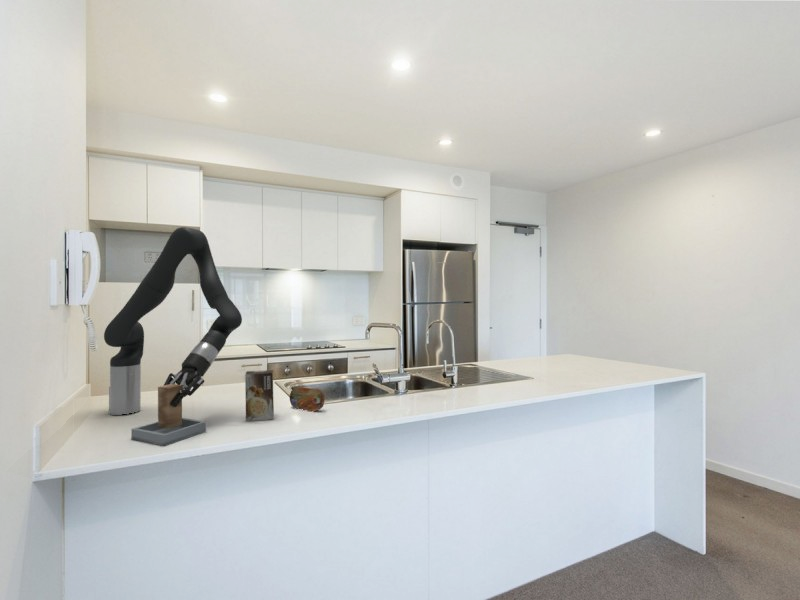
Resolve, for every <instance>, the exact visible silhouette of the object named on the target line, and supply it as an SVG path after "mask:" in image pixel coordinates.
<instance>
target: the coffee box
mask: <svg viewBox="0 0 800 600" xmlns="http://www.w3.org/2000/svg"><path fill="white" fill-rule="evenodd" d="M244 377H245V378H244V380H245V387H244V389H245V390H244V391H245V422H257V421H266V420H267V421H269V420H274V418H275V417H274V416H275V415H274V414H275V413H274V411H275V409H274V405H275V404H274V403H275V401H274V370H272V369H271V370H269V369H268V370H250V371H249V370H248V371H246V372H245V375H244Z"/></svg>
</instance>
